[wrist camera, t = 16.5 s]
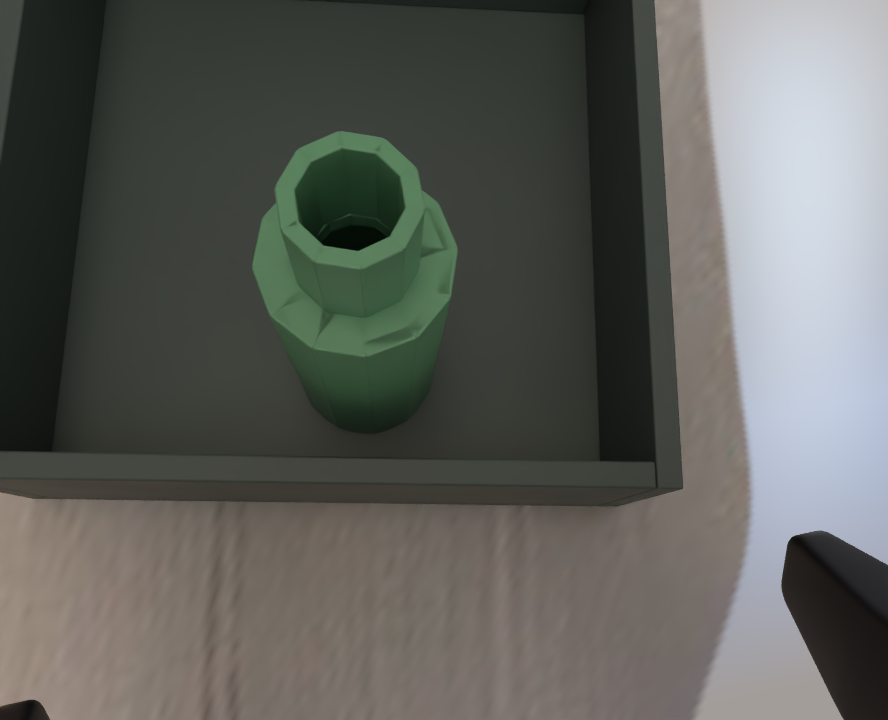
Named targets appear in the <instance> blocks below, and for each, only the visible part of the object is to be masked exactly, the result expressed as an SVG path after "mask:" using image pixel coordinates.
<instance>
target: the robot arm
mask: <svg viewBox="0 0 888 720" xmlns="http://www.w3.org/2000/svg"><path fill="white" fill-rule="evenodd" d="M782 593H783V596H784V600H785V602H786V604H787V606H788V608H789V610H790V612H791V615H792V617H793V619H794V621H795V623H796V625H797V627H798V629H799V631H800V633H801V635H802V637H803V639H804V641H805V643H806V645H807V647H808V649H809V651H810V654H811V656H812V658H813V660H814V662H815V664H816V666H817V668H818V670H819V672H820V674H821V676H822V678H823V680H824V682H825V684H826V686H827V688H828V691H829V693H830V695H831V697H832V699H833V700H834V702H835V704H836V706H837V708H838V710H839V712H840V714H841V716H842V717H843V719H844V720H888V565H887V564H885V563H883V562H881V561H879V560H877V559H876V558H874V557H872V556H870V555H868V554H866V553H865V552H863V551H861V550H859V549H857V548H855V547H854V546H852V545H850V544H848V543H846V542H844V541H843V540H841V539H839V538H837V537H835V536H834V535H832V534H830V533H828V532H824V531H814V532H809V533H805V534H800V535H796V536H794V537H792V538H791V539H790V540H789V542H788V545H787V551H786V557H785V563H784V569H783V575H782ZM0 720H50V719H49V717H48V715H47V713H46V711H45V709H44V708H43V706H42V705H41V703H40V702H38V701H36V700H27V701H22V702H18V703H13V704H8V705H4V706H1V707H0Z"/></svg>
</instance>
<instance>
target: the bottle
mask: <svg viewBox="0 0 888 720" xmlns="http://www.w3.org/2000/svg"><path fill="white" fill-rule="evenodd" d="M275 197H276V203H275V204H274V205H273V207H272V208H271V209H270V210H269V211H268V212H267V213H266V214H265V215H264V216H263V218H262V220H261V225H260V229H259V234H258V239H257V244H256V248H255V253H254V258H253V263H252V271H253V273H254V276H255V279H256V281H257V284H258V287H259V289H260V292H261V295H262V297H263V300H264V303H265V306H266V308H267V311H268V314H269V316H270V318H271V320H272V322H273V324H274V327H275V329H276V331H277V333H278V335H279V337H280V339H281V341H282V344H283V346H284V348H285V350H286V352H287V354H288V356H289V359H290V361H291V363H292V365H293V367H294V369H295V371H296V373H297V376H298V378H299V380H300V382H301V384H302V386H303V388H304V390H305V393H306V395H307V397H308V399H309V401H310V403H311V405H312V406H313V408H314V409H316V410H317V411H318V412H319V413H320V414H321V415H322V416H323V417H324V418H325V419H326V420H328V421H329V422H331V423H332V424H334V425H336V426H337V427H338V428H340V429H345V430H348V431H351V432H356V433H377V432H382V431H386V430H389V429H391V428H394V427H396V426H398V425H400V424H401V423H403V422H405V421H406V420H408V419H409V418H410V417H411V416H412V415H413V414H414V412H415V411H416V410H417V409H418V408H419V406H420V405H421V403H422V402H423V400H424V399H425V398H426V397H427V395H428V393H429V389H430V385H431V380H432V376H433V372H434V368H435V363H436V359H437V355H438V351H439V346H440V342H441V338H442V334H443V330H444V325H445V321H446V317H447V313H448V308H449V304H450V300H451V295H452V288H453V281H454V274H455V267H456V261H457V254H458V249H457V245H456V242H455V240H454V238H453V235H452V233H451V231H450V228H449V226H448V224H447V221H446V219H445V217H444V214H443V212H442V210H441V207H440V205H439V204H438V203H437V201H435V200H434V199H433V198H431V197H430V196H429V195H427V194H426V193H425V192H424V191H422V189H421V184H420V178H419V173H418V170H417V168H416V167H415V166H414V165H413V164H412V163H411V162H410V161H409V160H408V159H407V158H406V157H405V156H403V155H402V154H401V153H400V152H399V151H398V150H397V149H396V148H395V147H394V146H393V145H392V144H390V143H389V142H388V141H387V140H386V139H384V138H381V137H375V136H369V135H362V134H356V133H350V132H344V131H340V132H335V133H333V134H330V135H328V136H326V137H324V138H321V139H319V140H317V141H314V142H312V143H310V144H308V145H305V146H303V147H301V148H299V149H298V150H297V151H296V152H295V153H294V155H293V157H292V158H291V160H290V162H289V163H288V165H287V167H286V168H285V170H284V172H283V173H282V175H281V177H280V178H279V180H278V182H277V183H276V185H275Z"/></svg>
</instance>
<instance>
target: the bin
mask: <svg viewBox="0 0 888 720" xmlns="http://www.w3.org/2000/svg"><path fill="white" fill-rule="evenodd" d="M340 131H344V132H350V133H356V134H362V135H369V136H375V137H381V138H384V139H386V140H387V141H388V142H389V143H390V144H392V145H393V146H394V147H395V148H396V149H397V150H398V151H399V152H400V153H401V154H402V155H403V156H405V157H406V158H407V159H408V160H409V161H410V162H411V163H412V164H413V165H414V166H415V167H416V168H417V170H418V173H419V178H420V184H421V189H422V191H424V192H425V193H426V194H427V195H429V196H430V197H431V198H433V199H434V200H435V201H437V203H438V204H439V205H440V207H441V210H442V212H443V214H444V217H445V219H446V221H447V224H448V226H449V228H450V231H451V233H452V235H453V238H454V240H455V242H456V245H457V249H458V254H457V261H456V267H455V274H454V281H453V288H452V295H451V300H450V304H449V308H448V313H447V317H446V321H445V325H444V330H443V334H442V338H441V342H440V346H439V351H438V355H437V359H436V363H435V368H434V372H433V376H432V380H431V385H430V389H429V393H428V395H427V397H426V398H425V399H424V400H423V402H422V403H421V405H420V406H419V408H418V409H417V410H416V411H415V412H414V414H413V415H412V416H411V417H410V418H409V419H408V420H406V421H405V422H403V423H401V424H400V425H398V426H396V427H394V428H391V429H389V430H386V431H382V432H377V433H356V432H351V431H348V430H345V429H340V428H338V427H337V426H336V425H334V424H332V423H331V422H329V421H328V420H326V419H325V418H324V417H323V416H322V415H321V414H320V413H319V412H318V411H317V410H316V409H314V408H313V406H312V405H311V403H310V401H309V399H308V397H307V395H306V393H305V390H304V388H303V386H302V384H301V382H300V380H299V378H298V376H297V373H296V371H295V369H294V367H293V365H292V363H291V361H290V359H289V356H288V354H287V352H286V350H285V348H284V346H283V344H282V341H281V339H280V337H279V335H278V333H277V331H276V329H275V327H274V324H273V322H272V320H271V318H270V316H269V314H268V311H267V308H266V306H265V303H264V300H263V297H262V295H261V292H260V289H259V287H258V284H257V281H256V279H255V276H254V273H253V271H252V263H253V258H254V253H255V248H256V244H257V239H258V234H259V229H260V225H261V220H262V218H263V216H264V215H265V214H266V213H267V212H268V211H269V210H270V209H271V208H272V207H273V205H274V204H275V203H276V197H275V185H276V183H277V182H278V180H279V178H280V177H281V175H282V173H283V172H284V170H285V168H286V167H287V165H288V163H289V162H290V160H291V158H292V157H293V155H294V153H295V152H296V151H297V150H298V149H299V148H301V147H303V146H305V145H308V144H310V143H312V142H314V141H317V140H319V139H321V138H324V137H326V136H328V135H330V134H333V133H335V132H340ZM680 489H683V478H682V461H681V444H680V427H679V410H678V393H677V376H676V359H675V342H674V325H673V308H672V291H671V274H670V257H669V240H668V223H667V206H666V189H665V173H664V156H663V139H662V122H661V105H660V88H659V71H658V54H657V37H656V20H655V3H654V0H0V492H2V493H7V494H13V495H18V496H23V497H27V498H33V499H103V500H177V501H252V502H326V503H400V504H474V505H549V506H620V505H624V504H628V503H631V502H635V501H639V500H643V499H646V498H650V497H654V496H658V495H661V494H665V493H669V492H673V491H677V490H680Z"/></svg>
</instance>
